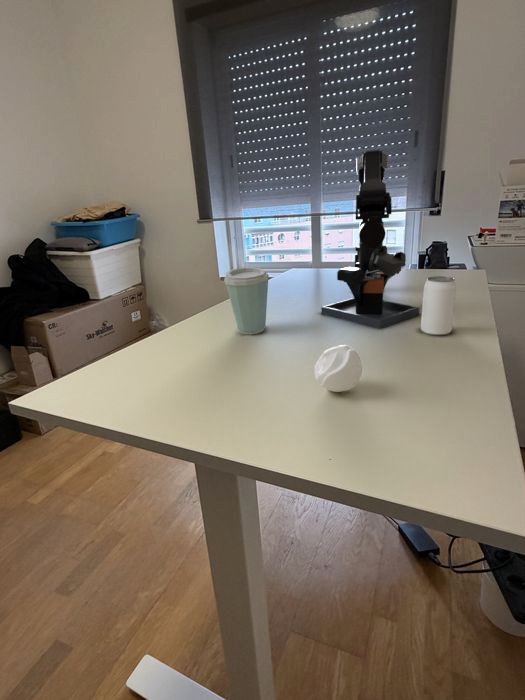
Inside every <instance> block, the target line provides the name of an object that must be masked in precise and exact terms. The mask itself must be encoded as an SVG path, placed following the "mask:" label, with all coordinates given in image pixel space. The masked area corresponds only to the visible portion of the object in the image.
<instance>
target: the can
mask: <svg viewBox="0 0 525 700" xmlns="http://www.w3.org/2000/svg"><path fill="white" fill-rule="evenodd" d="M455 280H456V278H455V277H452V276H445V275H440V276H439V275H435V276H429V277H427V278H426V281H425V283H424V285H423V295H422V305H421V306H422V308H421V318H420V319H421V322H420V330H421V332H422V333H424V334H426V335H431V336H446V335H449V334H450V333H451V332H452V329H453V321H454V312H455V304H456V295H457V294H456V293H457V285H456V282H455Z"/></svg>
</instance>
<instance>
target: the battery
mask: <svg viewBox="0 0 525 700" xmlns="http://www.w3.org/2000/svg"><path fill="white" fill-rule="evenodd" d="M373 276H374V277H366V275H365V279H364V280H366V281H368V283H367V284H366V285H365V286H364V294H363V303H362V306H358V304H357V302H356V313H357V314H382V310H383V300H384V291H383V287H384V277H379V276H381V274H373Z"/></svg>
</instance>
